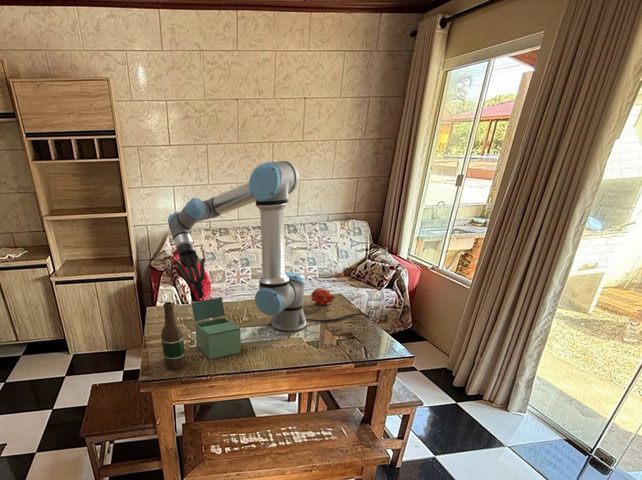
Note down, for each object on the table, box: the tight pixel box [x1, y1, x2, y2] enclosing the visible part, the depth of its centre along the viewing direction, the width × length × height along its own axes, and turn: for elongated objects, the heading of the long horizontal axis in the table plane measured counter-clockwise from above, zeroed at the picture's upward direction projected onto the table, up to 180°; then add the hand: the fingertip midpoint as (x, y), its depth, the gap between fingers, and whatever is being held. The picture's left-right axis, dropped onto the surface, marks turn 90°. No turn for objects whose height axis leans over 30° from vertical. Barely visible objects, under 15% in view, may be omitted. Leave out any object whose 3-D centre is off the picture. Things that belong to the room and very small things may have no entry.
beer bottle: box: [160, 301, 186, 371], centre depth 145 cm, size 8×8×24 cm
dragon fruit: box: [310, 287, 336, 306], centre depth 200 cm, size 8×8×12 cm
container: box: [194, 316, 242, 360], centre depth 159 cm, size 15×13×10 cm
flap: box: [190, 296, 226, 322], centre depth 162 cm, size 7×13×1 cm
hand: (201, 296), depth 167 cm, fingers closed
